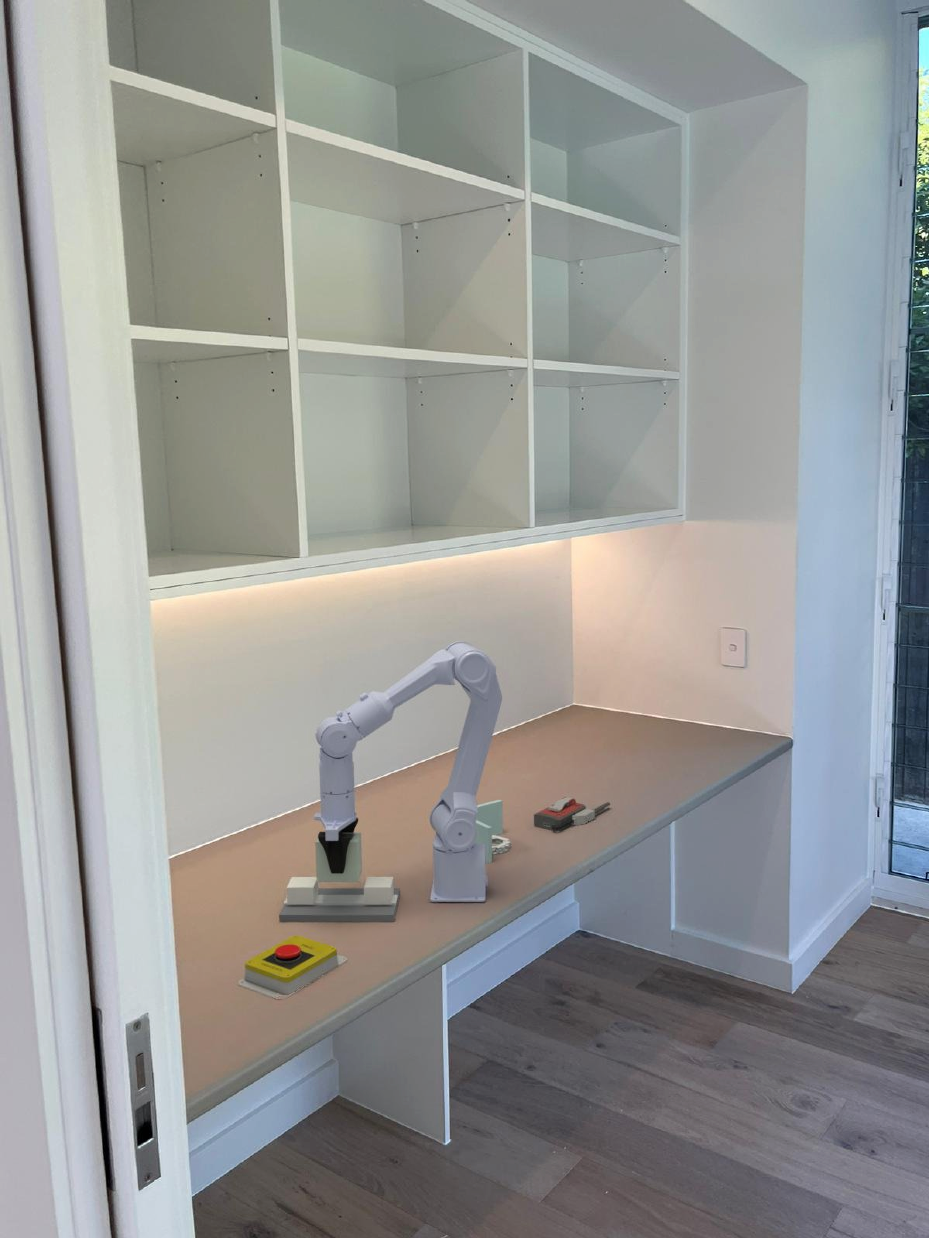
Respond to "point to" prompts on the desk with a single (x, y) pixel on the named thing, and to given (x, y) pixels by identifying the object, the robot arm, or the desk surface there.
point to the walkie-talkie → (565, 815)
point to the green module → (351, 867)
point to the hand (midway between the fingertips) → (339, 866)
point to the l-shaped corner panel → (491, 829)
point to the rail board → (340, 902)
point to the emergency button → (289, 966)
